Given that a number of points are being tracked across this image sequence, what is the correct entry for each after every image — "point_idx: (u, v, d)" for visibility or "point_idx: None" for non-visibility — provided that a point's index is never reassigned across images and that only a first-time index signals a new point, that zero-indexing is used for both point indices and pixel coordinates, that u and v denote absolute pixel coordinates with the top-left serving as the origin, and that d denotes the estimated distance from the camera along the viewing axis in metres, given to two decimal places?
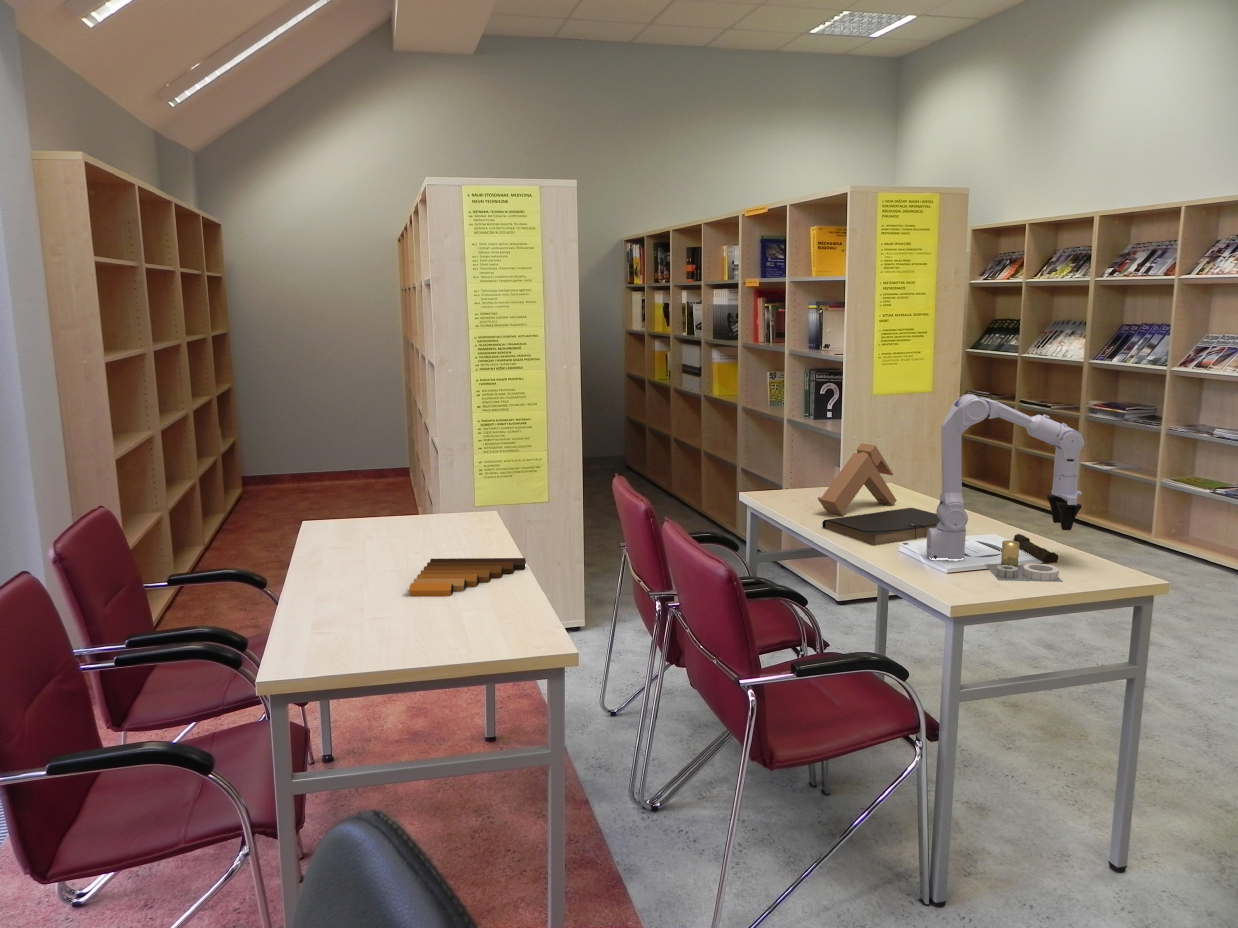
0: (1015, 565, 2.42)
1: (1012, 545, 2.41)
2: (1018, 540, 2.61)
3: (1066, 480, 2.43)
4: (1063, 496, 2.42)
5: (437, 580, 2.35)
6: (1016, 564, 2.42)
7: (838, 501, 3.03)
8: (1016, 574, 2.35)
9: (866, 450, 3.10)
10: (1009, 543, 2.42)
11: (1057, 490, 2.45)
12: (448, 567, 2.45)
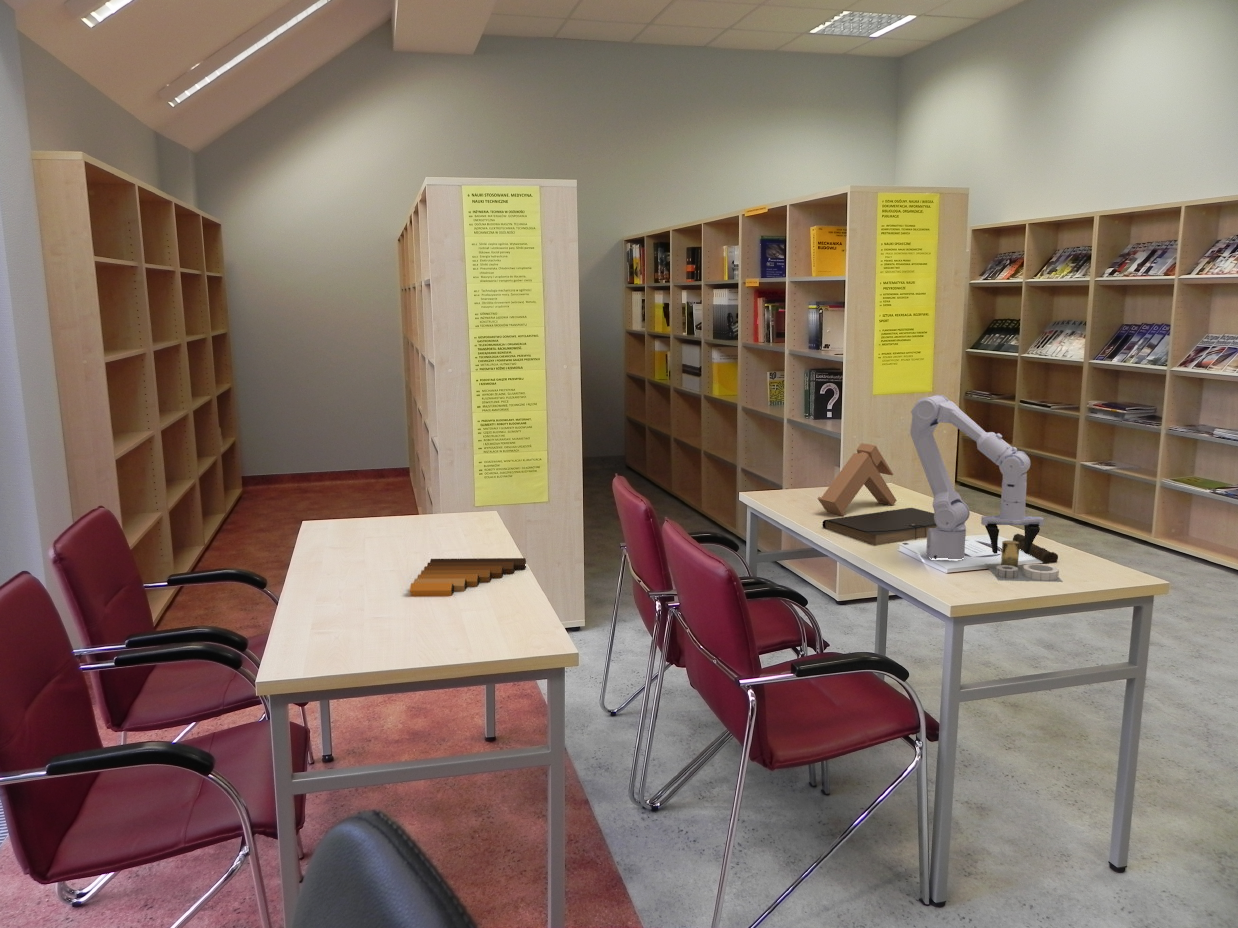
0: (1015, 565, 2.42)
1: (1012, 545, 2.41)
2: (1017, 540, 2.61)
3: (1001, 503, 2.41)
4: None
5: (437, 580, 2.35)
6: (1016, 564, 2.42)
7: (838, 501, 3.03)
8: (1016, 574, 2.35)
9: (866, 450, 3.10)
10: (1009, 543, 2.42)
11: None
12: (448, 567, 2.45)
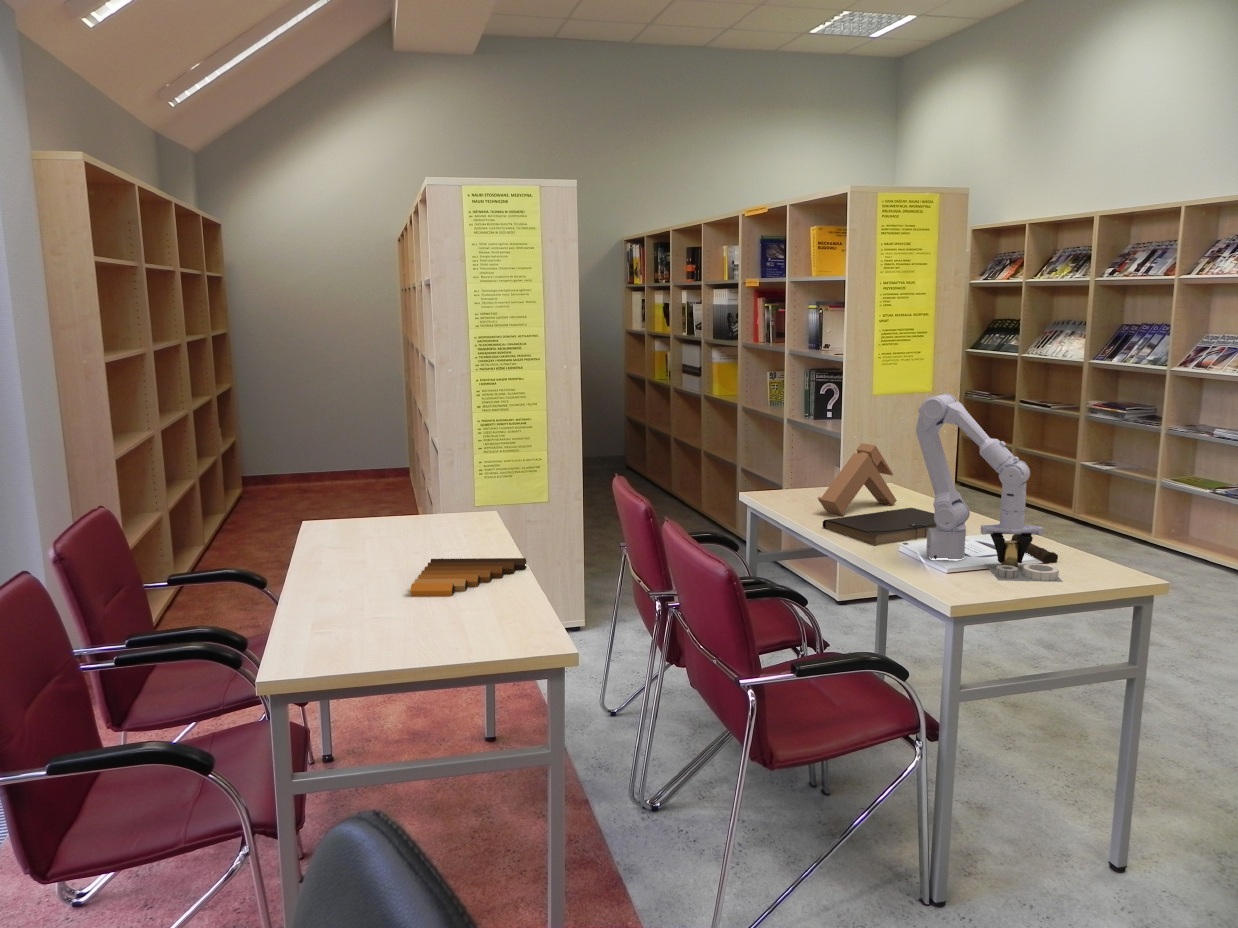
0: (1015, 565, 2.42)
1: (1012, 545, 2.41)
2: (1016, 540, 2.61)
3: (1000, 512, 2.42)
4: None
5: (438, 580, 2.35)
6: (1016, 564, 2.42)
7: (838, 501, 3.02)
8: (1016, 574, 2.35)
9: (866, 450, 3.10)
10: (1009, 543, 2.42)
11: None
12: (448, 567, 2.45)
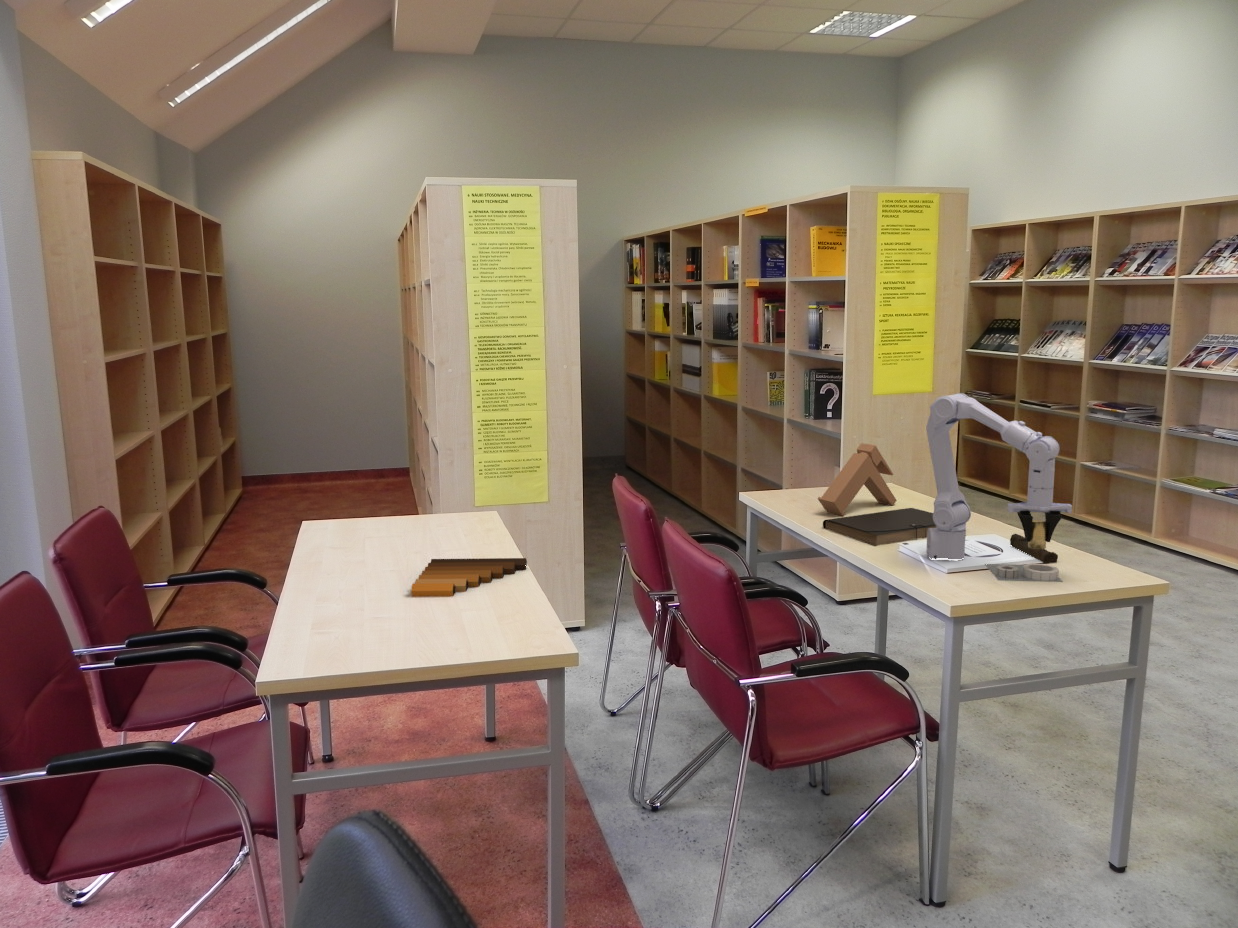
0: (1043, 545, 2.34)
1: (1040, 524, 2.33)
2: (1015, 540, 2.61)
3: None
4: None
5: (439, 580, 2.34)
6: (1044, 544, 2.34)
7: (838, 501, 3.03)
8: (1016, 574, 2.35)
9: (866, 450, 3.10)
10: (1037, 522, 2.34)
11: None
12: (449, 567, 2.45)
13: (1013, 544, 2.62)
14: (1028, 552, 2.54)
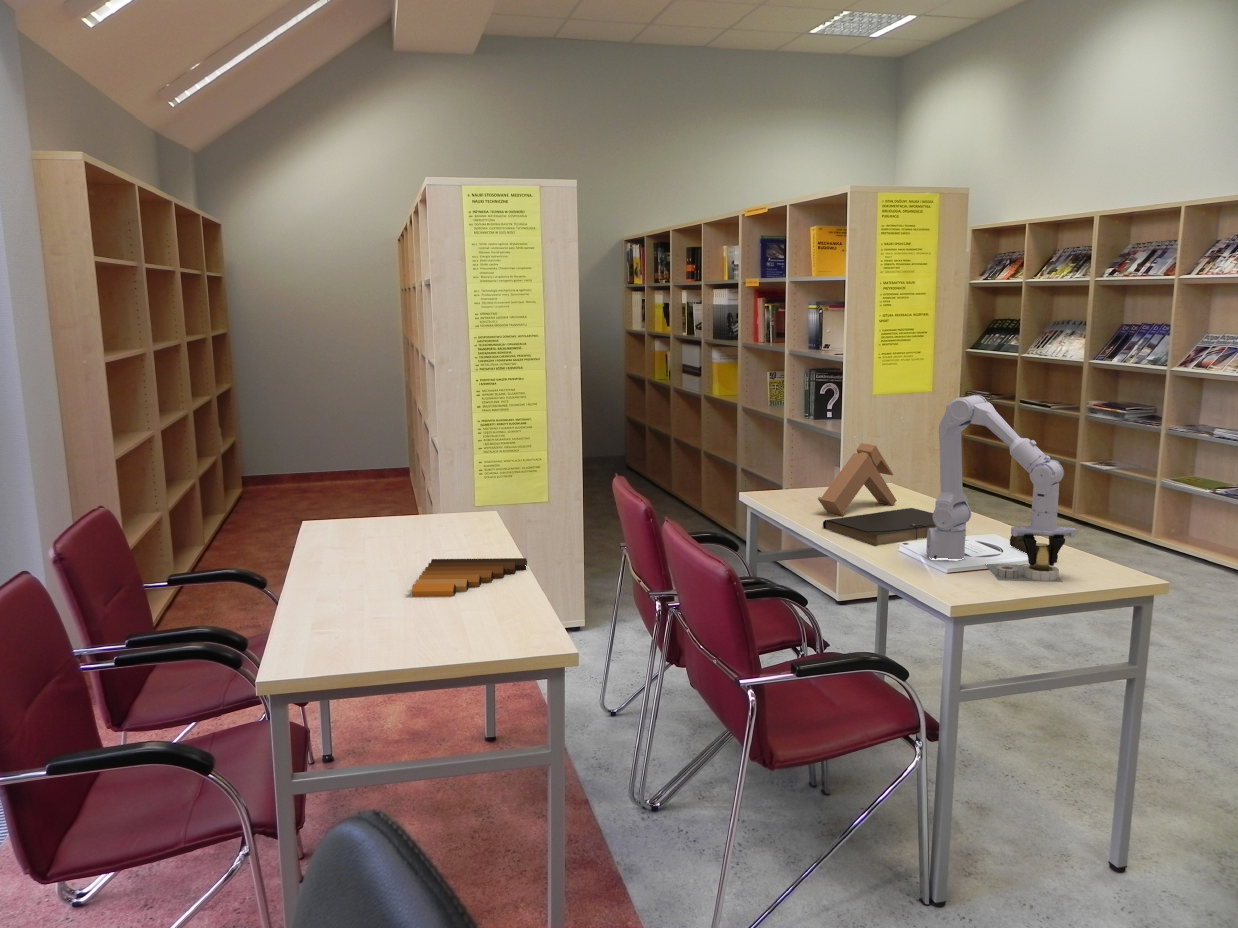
0: (1047, 568, 2.34)
1: (1044, 548, 2.33)
2: (1015, 540, 2.61)
3: None
4: None
5: (439, 581, 2.34)
6: (1048, 567, 2.34)
7: (838, 501, 3.03)
8: (1016, 574, 2.35)
9: (866, 450, 3.10)
10: (1041, 546, 2.34)
11: None
12: (449, 567, 2.45)
13: (1013, 544, 2.62)
14: None
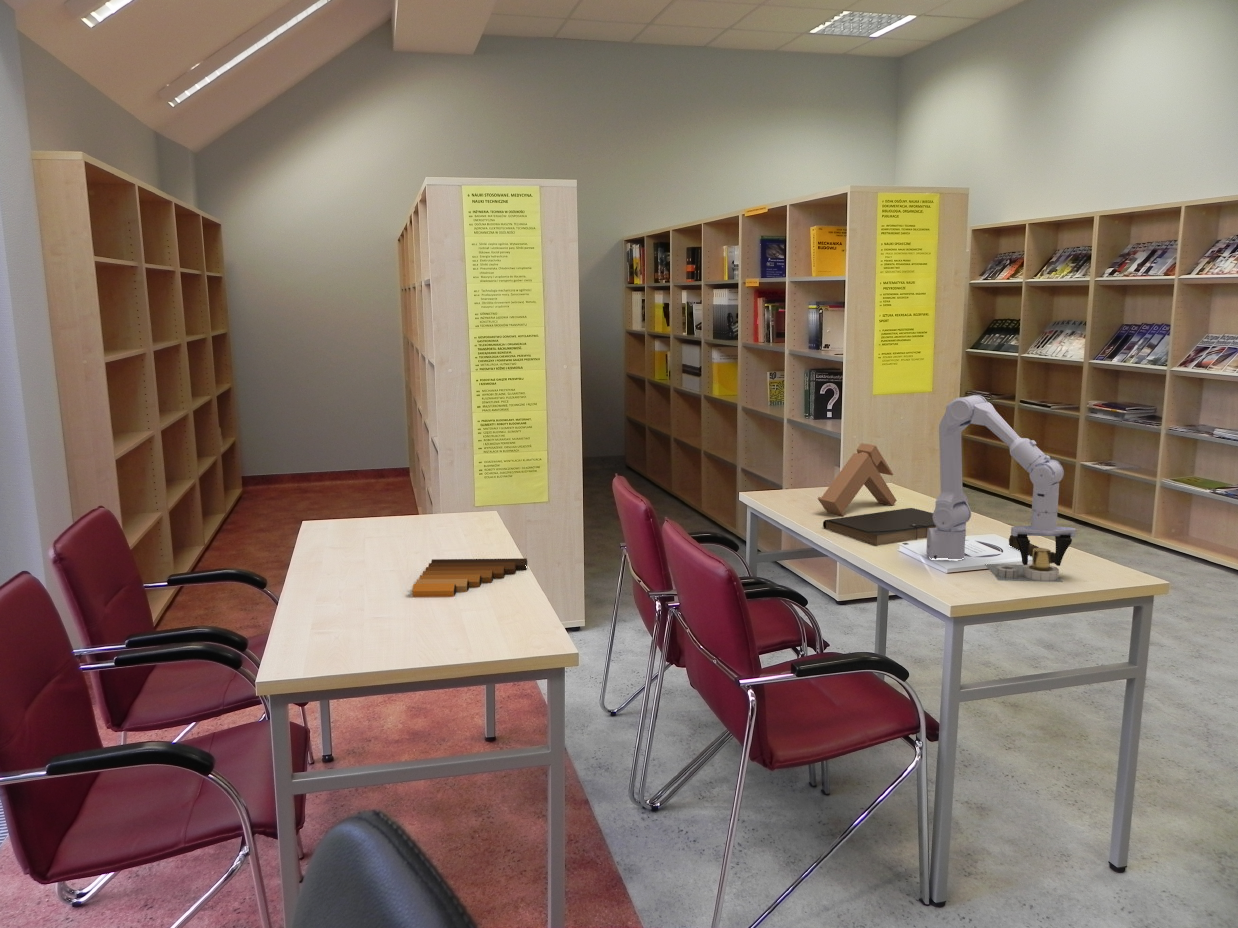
0: None
1: (1044, 553, 2.33)
2: (1014, 540, 2.61)
3: None
4: None
5: (440, 580, 2.34)
6: None
7: (838, 501, 3.03)
8: (1016, 574, 2.35)
9: (866, 450, 3.10)
10: (1040, 551, 2.34)
11: None
12: (450, 567, 2.45)
13: (1012, 544, 2.62)
14: (1028, 552, 2.54)
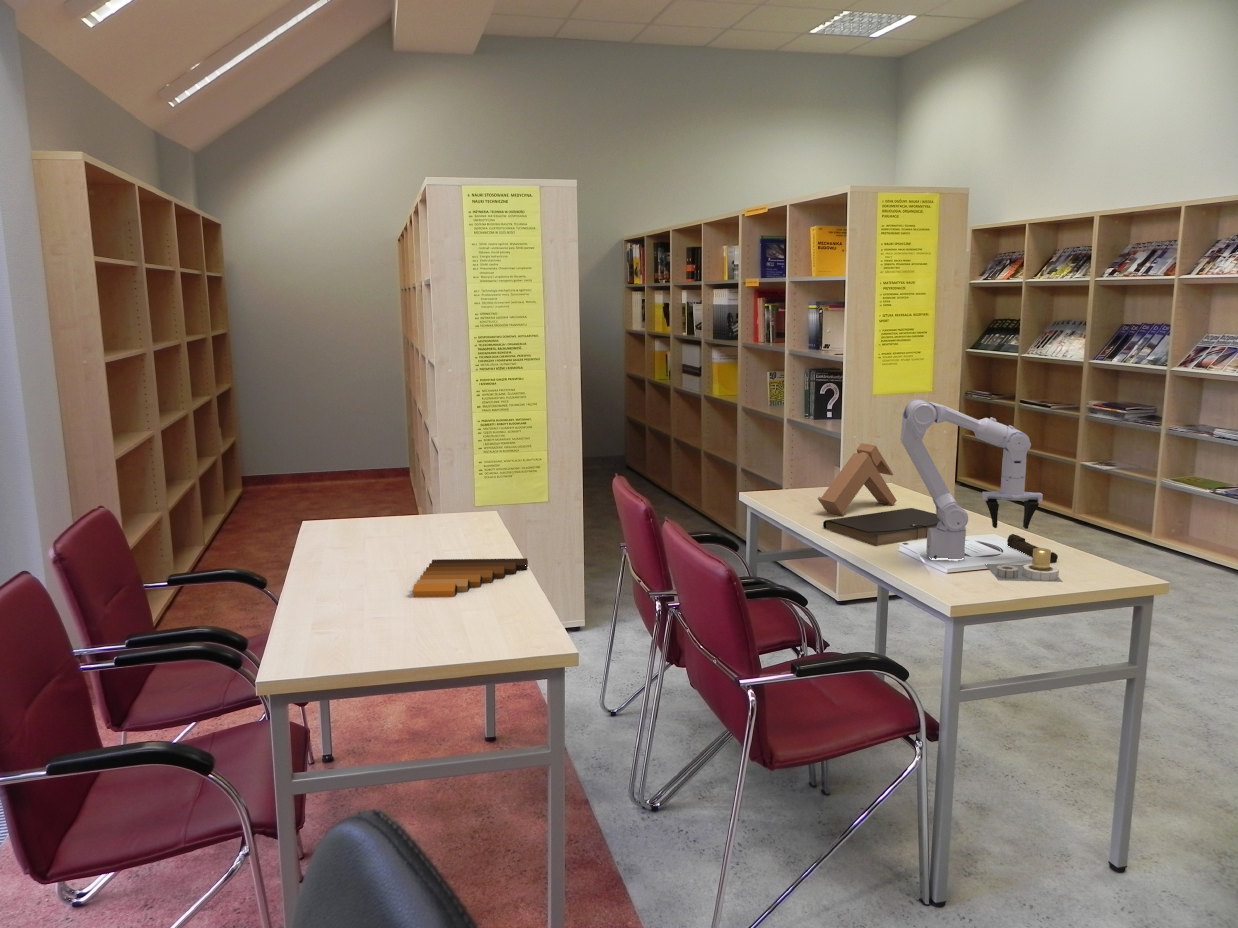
0: None
1: (1044, 553, 2.33)
2: (1013, 540, 2.60)
3: (1001, 479, 2.48)
4: None
5: (440, 581, 2.34)
6: None
7: (838, 501, 3.02)
8: (1016, 574, 2.35)
9: (866, 450, 3.10)
10: (1041, 551, 2.34)
11: None
12: (450, 567, 2.45)
13: (1011, 544, 2.62)
14: (1027, 552, 2.54)
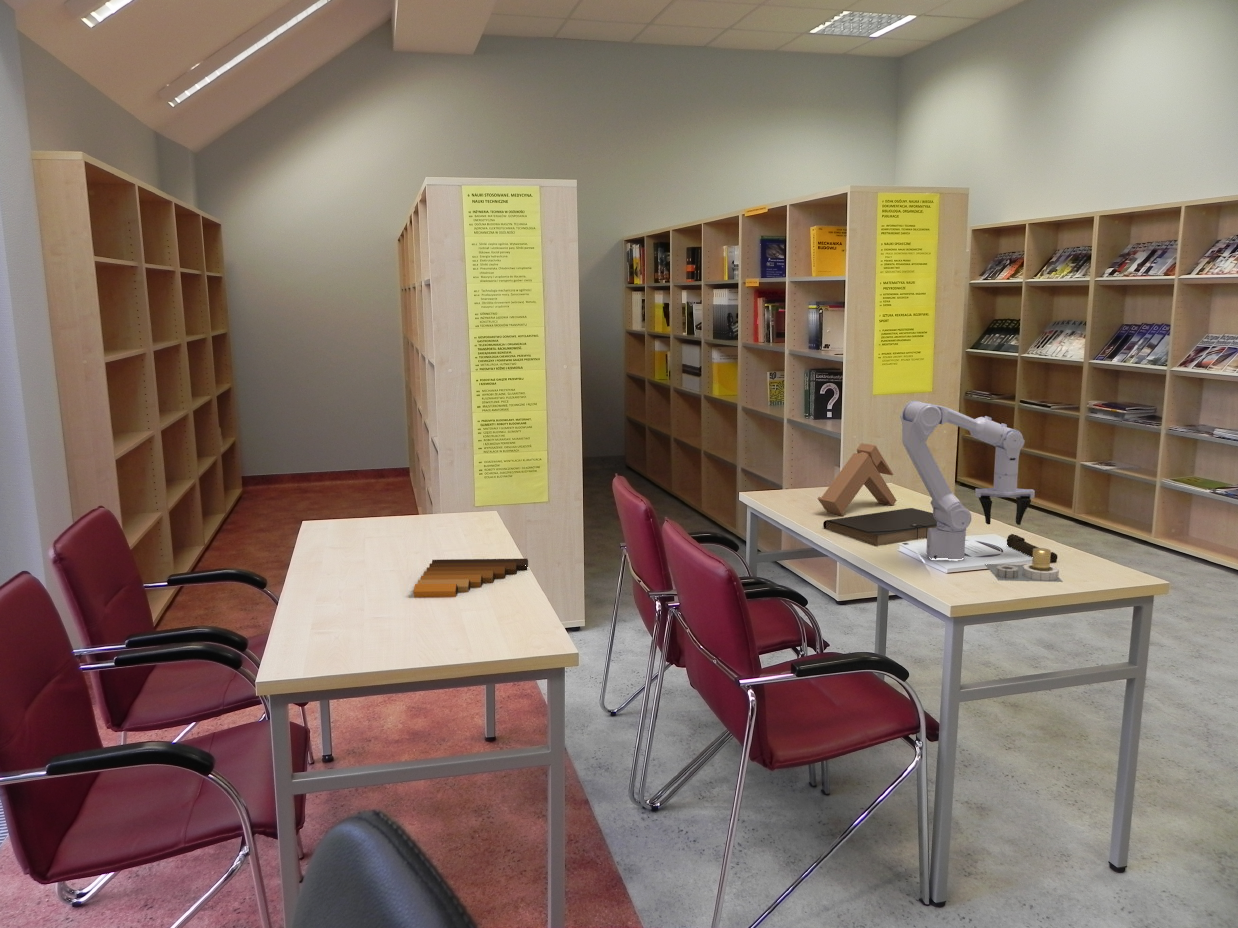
0: None
1: (1044, 553, 2.33)
2: (1013, 540, 2.60)
3: (994, 476, 2.52)
4: None
5: (441, 581, 2.34)
6: None
7: (838, 501, 3.03)
8: (1016, 574, 2.35)
9: (866, 450, 3.10)
10: (1040, 551, 2.34)
11: None
12: (451, 567, 2.45)
13: (1010, 544, 2.62)
14: (1027, 552, 2.54)
